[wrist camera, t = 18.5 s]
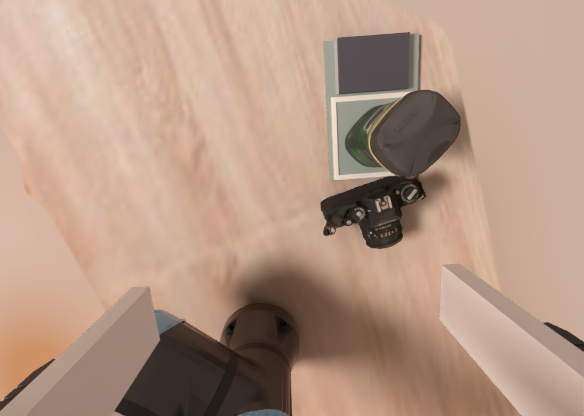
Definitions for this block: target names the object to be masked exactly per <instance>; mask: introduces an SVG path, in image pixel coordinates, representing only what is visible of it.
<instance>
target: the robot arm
mask: <svg viewBox="0 0 584 416" xmlns="http://www.w3.org/2000/svg"><path fill="white" fill-rule="evenodd" d="M439 320H440V321H441V322H442V323H443V324H444V325H445V327H446V328H447V329H448V330H449V331H450V332H451V334H452V335H453V336H454V337H455V338H456V340H457V341H458V342H459V343H460V344H461V345H462V347H463V348H464V349H465V350H466V351H467V352H468V354H469V355H470V356H471V357H472V358H473V359H474V361H475V362H476V363H477V364H478V365H479V366H480V368H481V369H482V370H483V371H484V372H485V373H486V375H487V376H488V377H489V378H490V379H491V381H492V382H493V383H494V384H495V385H496V386H497V388H498V389H499V390H500V391H501V392H502V393H503V395H504V396H505V397H506V398H507V399H508V400H509V402H510V403H511V404H512V405H513V406H514V407H515V409H516V410H517V411H518V412H519V413H520V414H521V416H584V342H583V341H581V340H580V339H578V338H577V337H576V336H574V335H572V334H571V333H570V332H568V331H566V330H563V329H561V328H559V327H557V326H555V325H552V324H550V323H542V322H541V321H539V320H538V319H536V318H535V317H534V316H532V315H531V314H529V313H528V312H527V311H525V310H524V309H522V308H521V307H520V306H518V305H517V304H515V303H514V302H513V301H511V300H510V299H508V298H507V297H505V296H504V295H503V294H501V293H500V292H498V291H497V290H496V289H494V288H493V287H491V286H490V285H489V284H487V283H486V282H484V281H483V280H482V279H480V278H479V277H477V276H476V275H474V274H473V273H472V272H470V271H469V270H467V269H466V268H465V267H463V266H462V265H460V264H449V265H442V279H441V299H440V319H439ZM299 347H300V339H299V331H298V327H297V325H296V323H295V321H294V320H293V319H292V317H291V316H290V315H289V314H288V313H286V312H285V311H284V310H282V309H280V308H278V307H276V306H273V305H268V304H252V305H248V306H245V307H243V308H241V309H239V310H237V311H236V312H234V313H233V314H232V315H231V316H230V317H229V319H228V320H227V322H226V323H225V326H224V328H223V331H222V334H221V339H220V342H218V341H217V340H215V339H213V338H212V337H210V336H208V335H207V334H205V333H203V332H202V331H200V330H199V329H197V328H195V327H194V326H192V325H190V324H189V323H187V322H186V320H185V319H179V318H178V317H176V316H174V315H172V314H170V313H168V312H166V311H164V310H154V307H153V302H152V298H151V293H150V288H149V286H148V287H135V288H131V289H130V290H129V291H128V292H127V293H126V294H125V295H124V296H123V297H122V298H121V299H120V300H118V301H117V302H116V303H115V304H114V305H113V306H112V307H111V308H110V309H109V310H108V311H107V312H106V313H105V314H104V315H103V316H101V317H100V318H99V319H98V320H97V321H96V322H95V323H94V324H93V325H92V326H91V327H90V328H89V329H88V330H87V331H85V333H83V334H82V335H81V336H80V337H79V338H78V339H77V340H76V341H75V342H74V343H73V344H71V345H70V346H69V347H68V348H67V349H66V350H65V351H64V352H63V353H62V354H61V355H60V356H59V357H58V358H57V359H53V360H51V361H49V362H48V363H46V364H45V365H43V366H42V367H40V368H39V369H37V370H35V371H34V372H33V373H32V374H30V375H29V376H28V377H27V378H26V379H25V380H24V381H23V382H22V383H20V384H19V385H18V387H17V389H14V390H13V391H12V392H10V393H9V394H8V395H7V396H6V397H5V398H4V401H1V402H0V416H292V399H291V371H292V368H293V366H294V363H295V361H296V359H297V356H298V353H299Z"/></svg>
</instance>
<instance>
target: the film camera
mask: <svg viewBox="0 0 584 416" xmlns="http://www.w3.org/2000/svg"><path fill="white" fill-rule="evenodd" d="M425 197H426V195H425V192H424V190H423V188H422V184H421V182H420V181H419V175H417V176H416V177H415V178H414V179H407V178H405V177H403V176H390V177H385V178H383V179H379V180H377V181H374V182H370V183H369V184H364V185H363V186H359V187H356V188H354V189H351V190H349V191H346V192H344V193H340V194H337V195H334V196H331V197H329V198H326V199H325V200H323V201H322V202H321V211H322V212H323V215H324V217H325V219H326V221H327V223H326V226H325V227H324V231H323V233H324V235H325V236H328V235H333V234H335V232H336V229H335V228H338V227H342V226H345V225H346V226H350V225H352V224H353V223H359V225H360V228H361V230H362V234H363V237H364V239H365V240H366V244H367V246H369V247H371V248H378V249H382V248H388V247H391V246H393V245H395V244H397V243H398V242H400V241H401V239H402V237H403V234H402V226H401V223H400V220H399V219H401V216H402V213H401V209H400V207H402V206H405V205H408V204H411V203H413V202H416V201H418V200H420V199H424V198H425ZM331 229H335V232H333V233H332V232H331Z"/></svg>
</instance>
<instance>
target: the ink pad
mask: <svg viewBox="0 0 584 416" xmlns="http://www.w3.org/2000/svg"><path fill="white" fill-rule="evenodd" d="M334 48H335V76H336V95H338V94H351V93H365V92H378V91H391V90H404V89H409V54H410V32H408V33H395V34H382V35H369V36H355V37H342V38H338V39H337V40H334Z"/></svg>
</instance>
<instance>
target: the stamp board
mask: <svg viewBox="0 0 584 416" xmlns="http://www.w3.org/2000/svg"><path fill="white" fill-rule="evenodd" d="M324 63H325V86H326V109H327V132H328V155H329V178H330V180H343V179H356V178H370V177H383V176H397V175H394V174H392V173H390V172H388V171H387V170H385V169H384V168H383V167H366V166H363V165H361V164H360V163H358V162H357V161H356V160H355V159H354V158H353V157H352V156H351V155H350V154H349V153H348V151H347V150H346V147H345V138H346V135H347V134H348V132H349V131H350V129H351V128H352V127H353V125H354V124H355V123H356V122H357V121H358V120H359V119H360V118H361V116H363V115H364V114H365V113H366V112H367V111H368V110H370V109H371V108H373V107H375V106H379V105H384V104H388V103H391V102H394V101H396V100H398V99H399V98H401V97H403V96H404V95H406V94H408V93H410V92H413V91H418V63H419V34H416V35H410V54H409V89H404V90H391V91H378V92H365V93H351V94H338V95H336V76H335V48H334V41H324Z"/></svg>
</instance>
